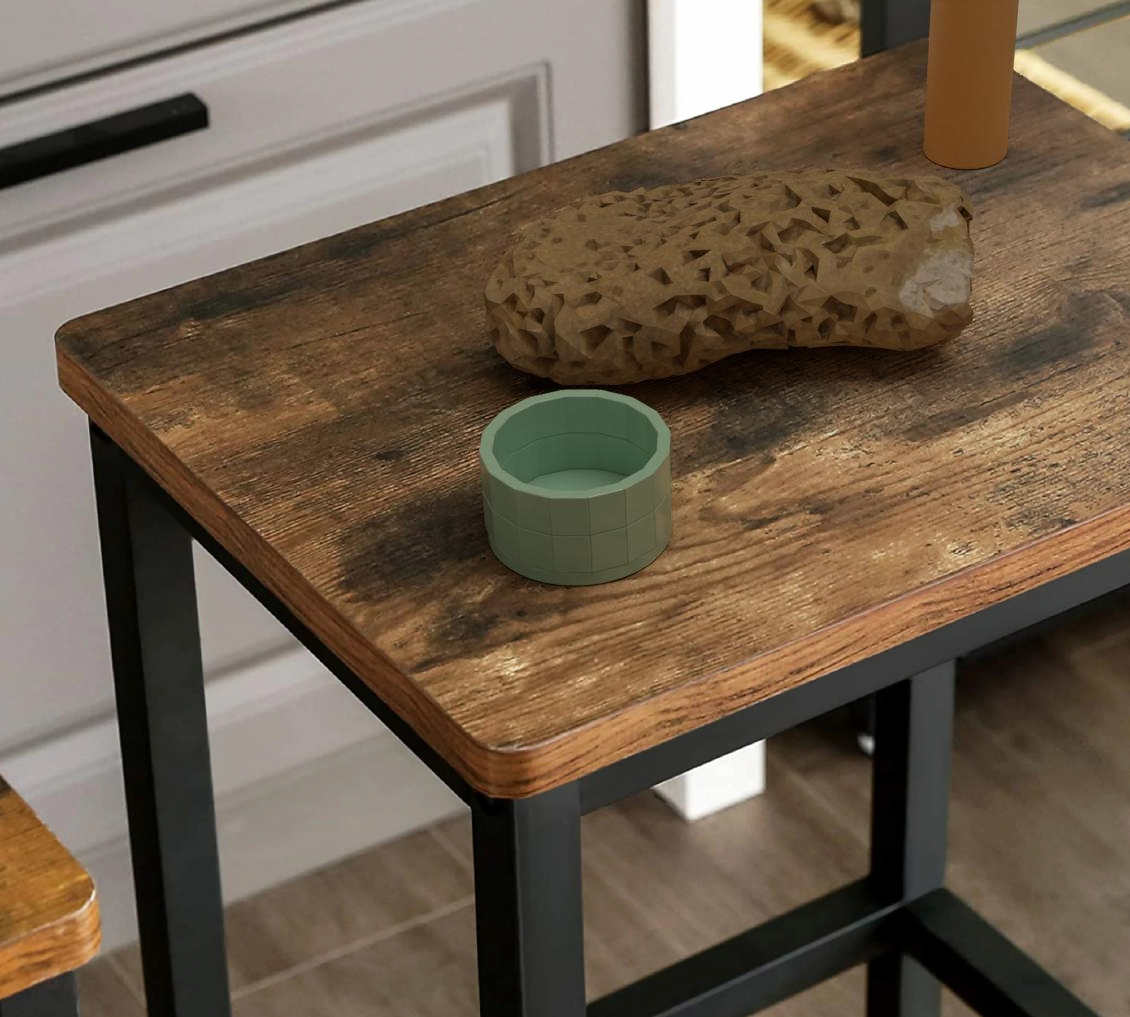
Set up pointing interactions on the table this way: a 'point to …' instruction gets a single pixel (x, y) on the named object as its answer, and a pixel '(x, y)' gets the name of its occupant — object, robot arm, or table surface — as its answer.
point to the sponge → (733, 273)
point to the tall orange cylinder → (969, 81)
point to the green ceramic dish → (577, 486)
